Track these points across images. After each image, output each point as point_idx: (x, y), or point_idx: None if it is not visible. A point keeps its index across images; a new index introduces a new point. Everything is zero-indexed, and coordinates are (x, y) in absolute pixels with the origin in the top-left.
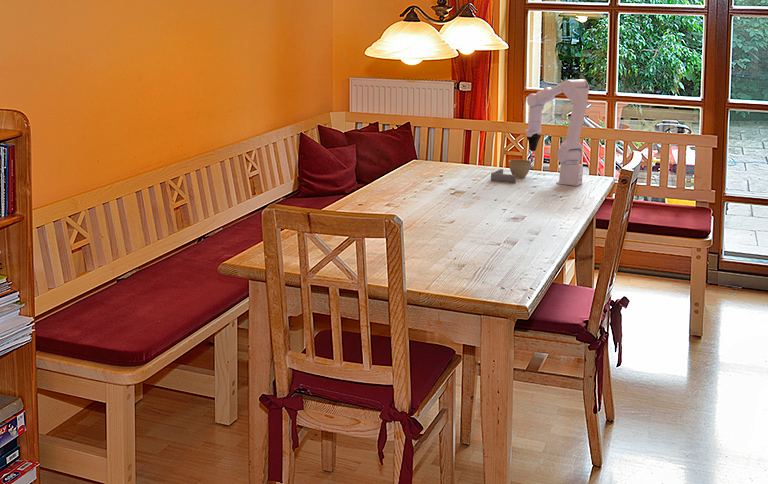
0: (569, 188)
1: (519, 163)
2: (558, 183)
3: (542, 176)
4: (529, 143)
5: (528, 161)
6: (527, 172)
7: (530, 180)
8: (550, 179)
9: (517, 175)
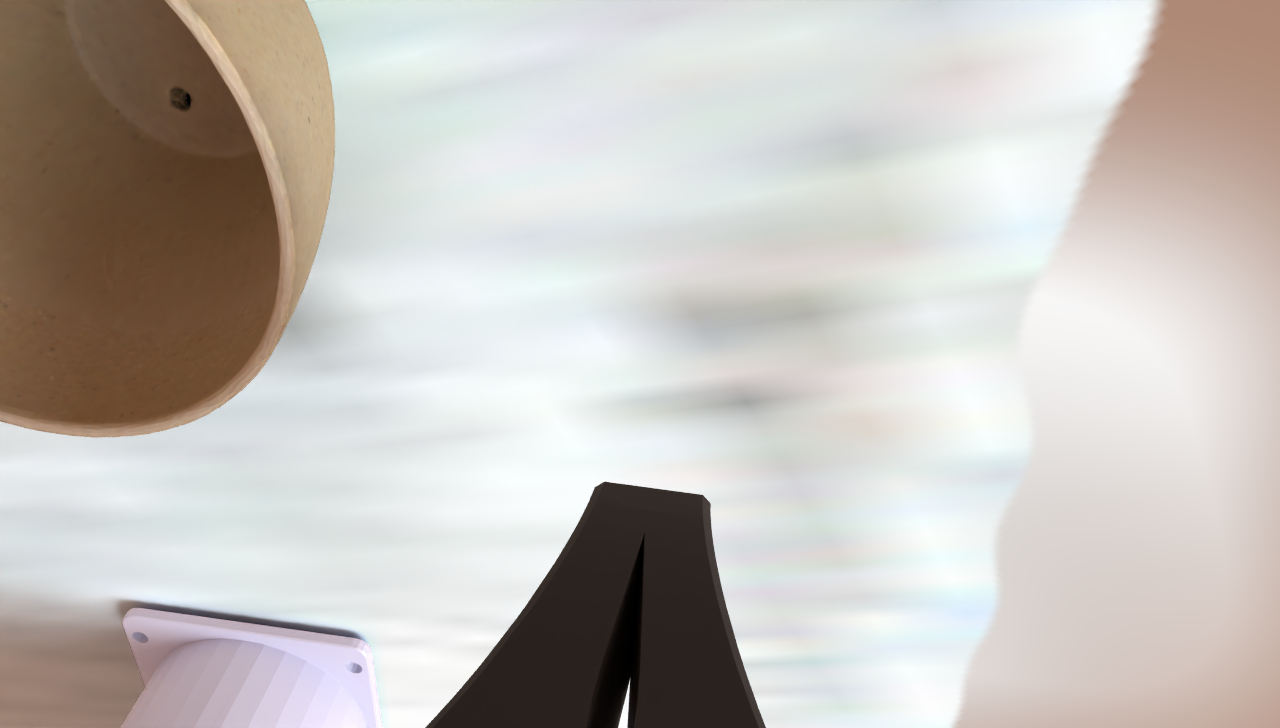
0: (24, 717)
1: (273, 62)
2: (130, 632)
3: (553, 399)
4: (475, 687)
5: (259, 341)
6: (150, 256)
7: None
8: (384, 522)
9: (10, 51)
